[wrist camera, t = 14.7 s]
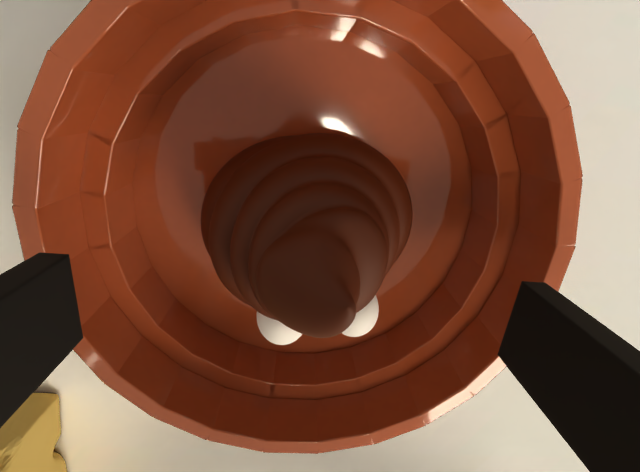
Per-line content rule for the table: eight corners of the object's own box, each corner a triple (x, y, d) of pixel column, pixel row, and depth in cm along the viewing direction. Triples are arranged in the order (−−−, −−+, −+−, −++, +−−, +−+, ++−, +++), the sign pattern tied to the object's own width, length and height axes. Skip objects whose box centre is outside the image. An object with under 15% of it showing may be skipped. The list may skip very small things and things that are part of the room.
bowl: (127, 358, 22) (66, 448, 16) (75, -46, 14) (-69, -139, 9) (448, 372, 23) (494, 458, 18) (549, 14, 16) (683, -32, 10)
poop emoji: (402, 120, 17) (514, 142, 8) (404, 279, 20) (486, 421, 11) (191, 142, 16) (67, 190, 8) (227, 298, 20) (166, 458, 11)
